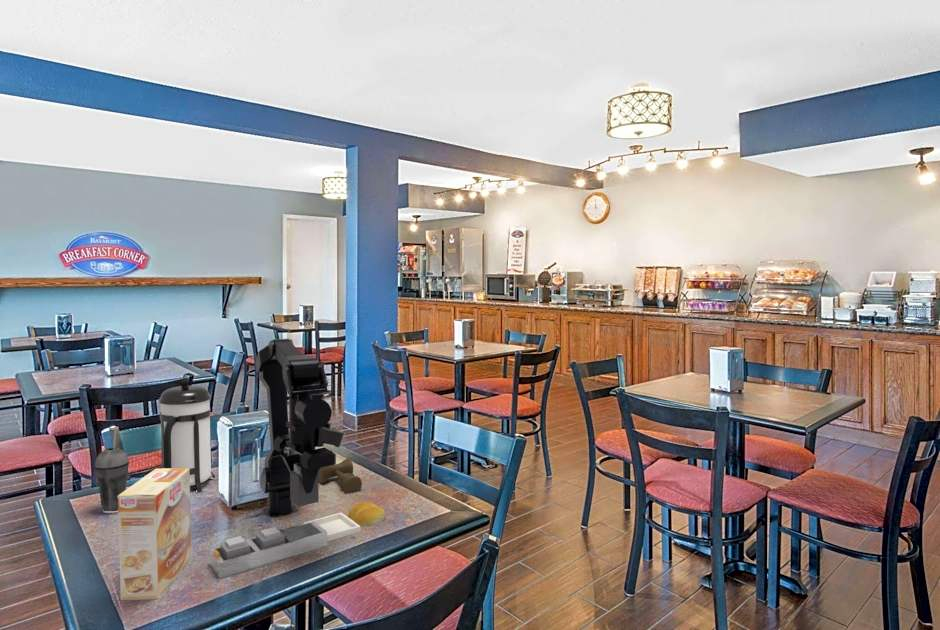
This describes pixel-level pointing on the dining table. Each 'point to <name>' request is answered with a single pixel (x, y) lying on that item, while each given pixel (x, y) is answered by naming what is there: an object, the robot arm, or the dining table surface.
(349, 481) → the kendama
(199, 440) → the coffee press
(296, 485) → the plug
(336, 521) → the tray
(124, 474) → the beverage cup
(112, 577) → the dining table surface
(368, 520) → the bread roll
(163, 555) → the coffeecake box
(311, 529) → the power strip
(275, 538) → the twin plug
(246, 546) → the twin plug
